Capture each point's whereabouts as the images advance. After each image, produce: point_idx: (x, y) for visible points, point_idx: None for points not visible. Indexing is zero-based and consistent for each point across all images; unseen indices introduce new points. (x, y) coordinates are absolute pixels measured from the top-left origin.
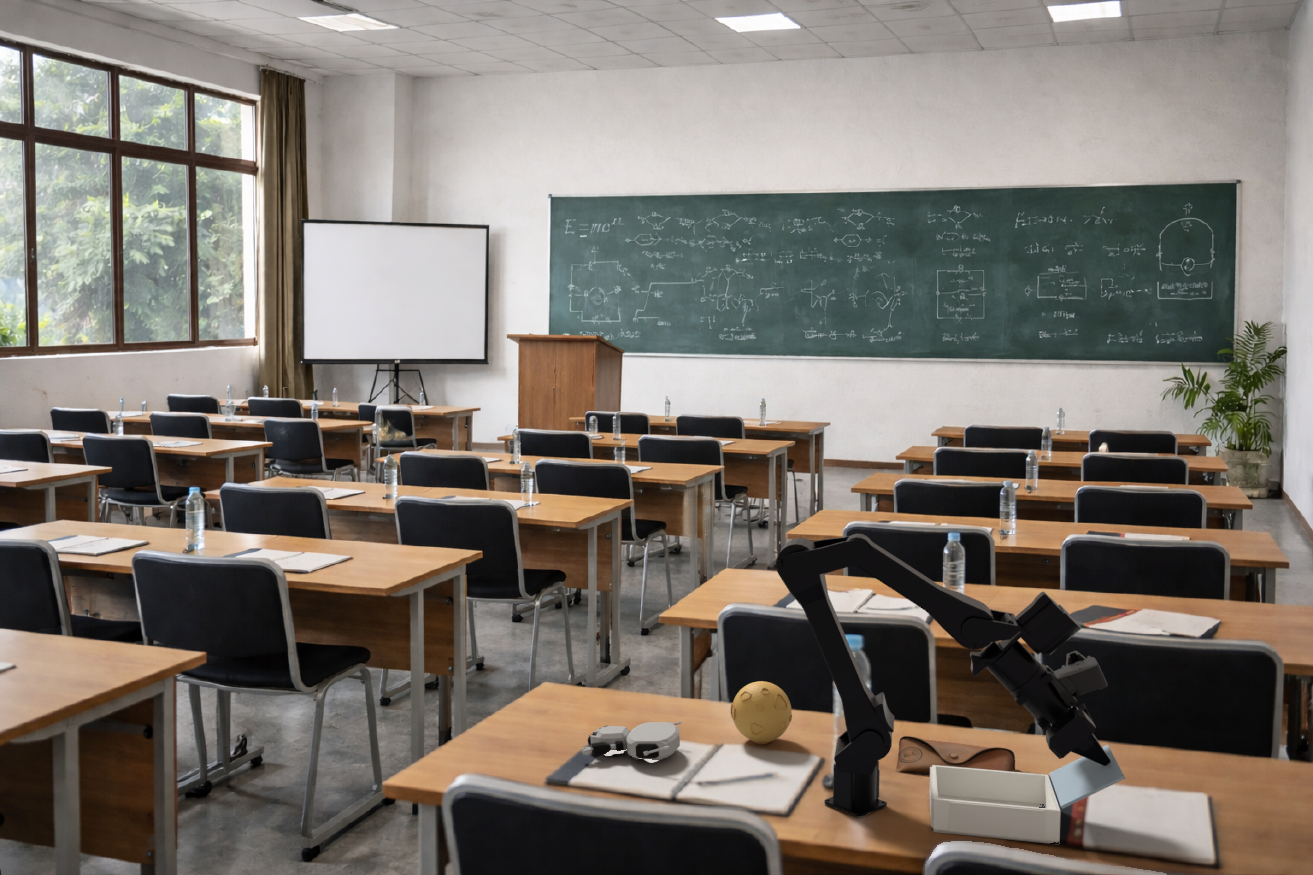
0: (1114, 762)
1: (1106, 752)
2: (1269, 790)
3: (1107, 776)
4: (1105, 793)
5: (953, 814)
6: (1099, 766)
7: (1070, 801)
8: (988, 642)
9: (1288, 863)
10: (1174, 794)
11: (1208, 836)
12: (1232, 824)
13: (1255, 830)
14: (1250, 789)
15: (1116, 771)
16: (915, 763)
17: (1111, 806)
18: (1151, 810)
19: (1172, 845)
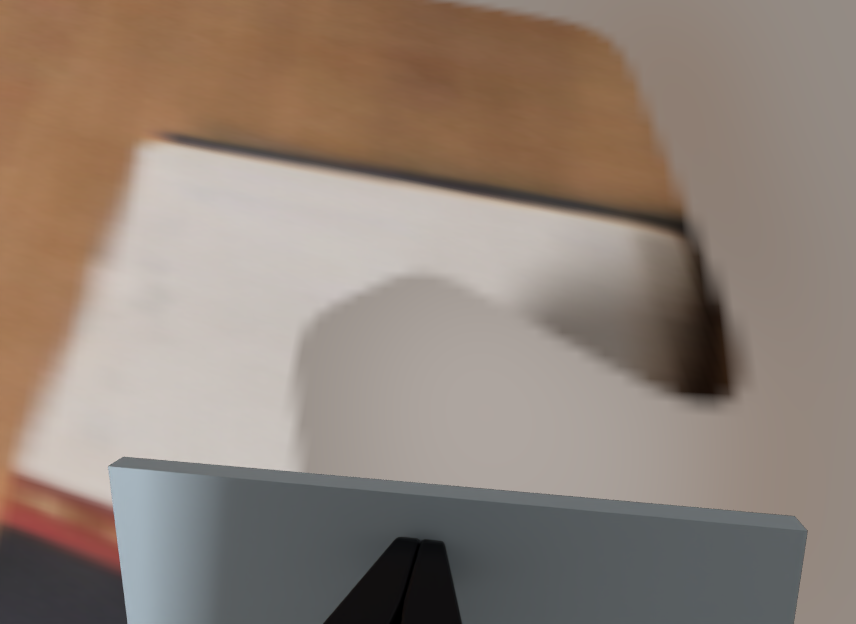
0: (461, 514)
1: (227, 508)
2: (138, 5)
3: (650, 622)
4: (126, 441)
5: None
6: None
7: None
8: None
9: (612, 54)
10: (149, 221)
11: (463, 201)
12: (363, 123)
13: (397, 81)
14: (128, 40)
15: (643, 549)
16: None
17: (242, 451)
18: (273, 319)
19: (563, 324)
